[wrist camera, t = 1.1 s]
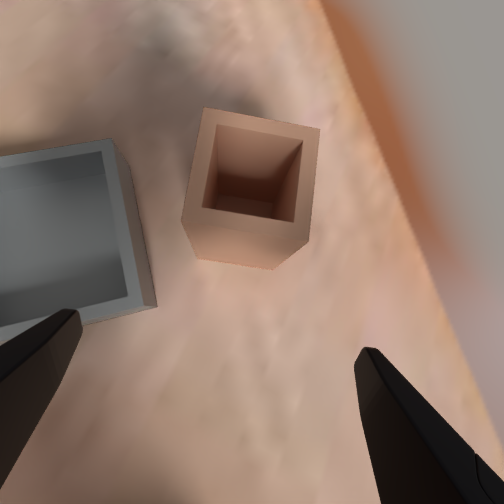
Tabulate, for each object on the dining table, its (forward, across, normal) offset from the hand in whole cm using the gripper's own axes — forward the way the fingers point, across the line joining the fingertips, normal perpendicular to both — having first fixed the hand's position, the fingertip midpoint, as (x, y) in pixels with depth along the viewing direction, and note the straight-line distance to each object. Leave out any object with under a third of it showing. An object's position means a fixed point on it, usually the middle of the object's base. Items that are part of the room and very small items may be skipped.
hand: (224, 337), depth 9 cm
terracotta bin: (+15, 0, +4) cm, 15 cm away
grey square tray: (+12, +12, +7) cm, 19 cm away
